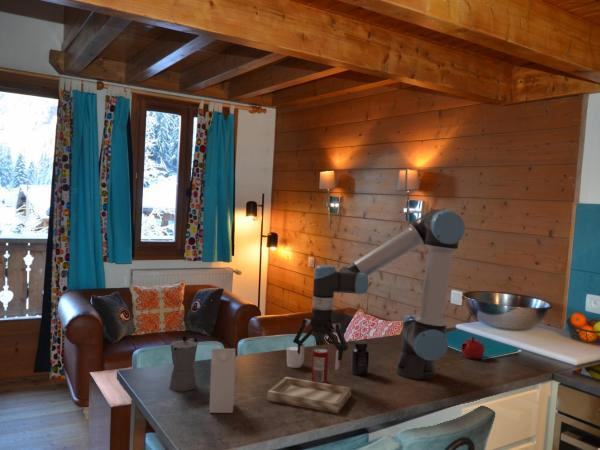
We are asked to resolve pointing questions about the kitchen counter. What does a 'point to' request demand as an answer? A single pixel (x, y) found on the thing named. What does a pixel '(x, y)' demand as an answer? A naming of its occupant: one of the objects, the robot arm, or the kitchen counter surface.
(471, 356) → the pomegranate
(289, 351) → the white cylinder
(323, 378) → the soda can
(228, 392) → the milk carton
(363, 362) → the supplement bottle
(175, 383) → the coffeepot
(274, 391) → the tray
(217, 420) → the kitchen counter surface
